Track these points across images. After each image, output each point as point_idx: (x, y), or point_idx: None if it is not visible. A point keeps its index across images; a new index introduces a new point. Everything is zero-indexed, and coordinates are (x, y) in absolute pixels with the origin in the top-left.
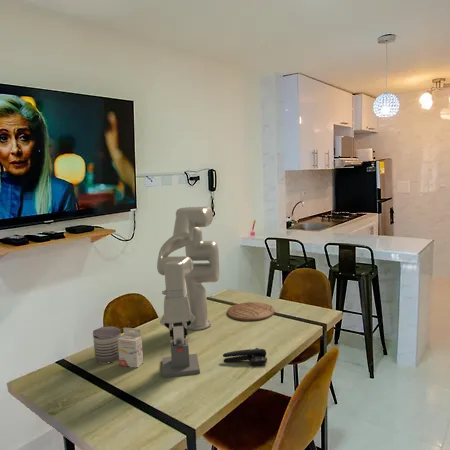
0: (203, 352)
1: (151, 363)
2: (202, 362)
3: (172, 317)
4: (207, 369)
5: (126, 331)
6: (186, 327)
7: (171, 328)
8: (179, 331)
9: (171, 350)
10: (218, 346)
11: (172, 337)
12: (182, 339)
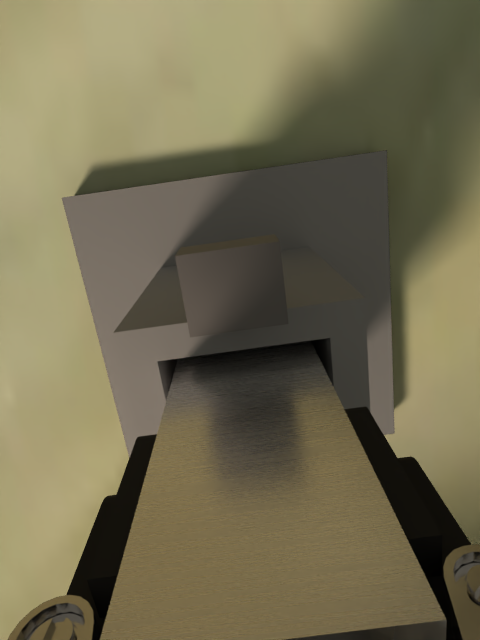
0: (97, 509)
1: (466, 390)
2: (81, 368)
3: None
4: (21, 253)
5: None
6: (44, 624)
7: (456, 593)
8: (233, 508)
9: (344, 287)
10: (4, 577)
11: (368, 427)
12: (191, 408)
